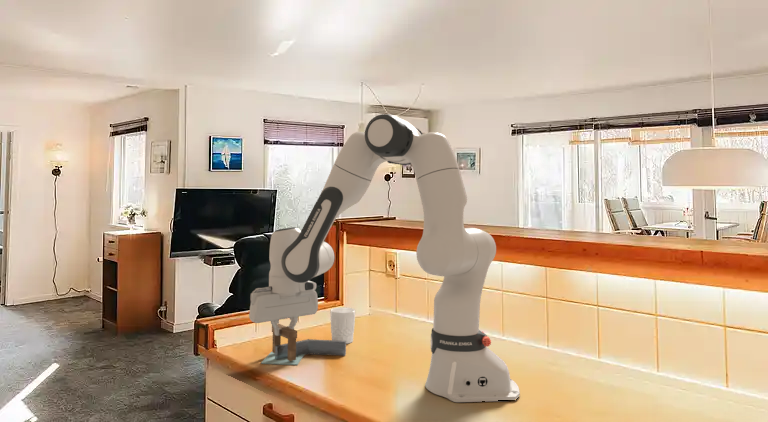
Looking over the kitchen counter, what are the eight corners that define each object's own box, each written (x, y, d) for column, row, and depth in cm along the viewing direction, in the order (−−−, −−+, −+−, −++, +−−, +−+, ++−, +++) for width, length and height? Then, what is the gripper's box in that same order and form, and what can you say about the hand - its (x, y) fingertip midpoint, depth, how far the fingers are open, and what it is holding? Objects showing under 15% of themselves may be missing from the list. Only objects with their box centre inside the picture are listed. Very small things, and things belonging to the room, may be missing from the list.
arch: (278, 351, 152) (279, 323, 152) (296, 359, 145) (297, 330, 145) (271, 352, 151) (271, 324, 151) (289, 361, 144) (289, 332, 143)
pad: (305, 354, 153) (305, 353, 153) (297, 365, 143) (297, 364, 143) (271, 352, 153) (271, 351, 153) (260, 363, 143) (261, 362, 143)
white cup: (356, 338, 170) (357, 307, 170) (352, 345, 162) (353, 313, 162) (332, 337, 171) (333, 306, 171) (327, 344, 163) (328, 312, 163)
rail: (345, 354, 153) (346, 340, 153) (341, 363, 145) (341, 349, 145) (282, 351, 155) (282, 338, 154) (274, 360, 146) (274, 346, 146)
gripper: (256, 290, 138) (255, 342, 139) (321, 283, 152) (320, 330, 152) (245, 287, 143) (244, 337, 143) (309, 280, 156) (308, 326, 157)
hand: (284, 333), depth 148 cm, fingers closed on arch, 2 cm apart
